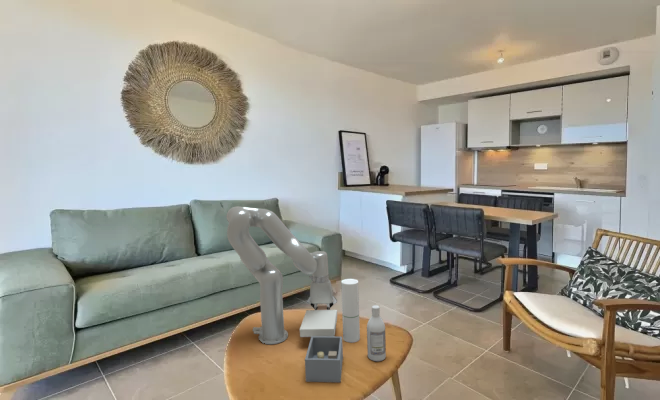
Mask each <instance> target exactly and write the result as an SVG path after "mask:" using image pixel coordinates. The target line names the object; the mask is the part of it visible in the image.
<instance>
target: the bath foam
mask: <svg viewBox="0 0 660 400" xmlns="http://www.w3.org/2000/svg"><path fill="white" fill-rule="evenodd" d="M380 308H381V307H380V305H377V304H376V305H375V304H374V305H372V306H371V316H370V318H369V319H368V321H367V324H366V338H367V339H366V346H367V347H366V349H367V350H366V351H367V358H368V359H370V360H371V361H373V362H382V361H383V360H385V359H386V358H387V357H386V356H387V355H386V353H387V351H386V350H387V346H386V345H387V344H386V325H385V321H384V320H383V319H382V317H381V314H380V311H381V310H380Z"/></svg>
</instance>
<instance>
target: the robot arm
mask: <svg viewBox="0 0 660 400" xmlns="http://www.w3.org/2000/svg"><path fill="white" fill-rule="evenodd" d="M226 220H227V222H228V225H227V230H226V237H227V239H228V243H229V244H230V246H231V247H232V249H233V250H234V251H235V252H236V254H237V255H238V256H239V259H240V261H241V262H242V263H243V265H244V266H245V267H246V268H247V270H248V271H249V272H250V273H251V274H252V276H253V277H254V278H255V279H256V280H257V282H258V284H259V285H260V291H259V292H260V293H259V302H260V303H259V304H260V319H261V326H258V327H257V326H256V327H255V326H254V327H252V332H253V335H258V341H259V340H260V341H261V342H262V343H261V342H260V341H259V342H260V343H261V344H264V343H265V344H264V345H277V344H280V343H282V342H285V340H287V339H288V336H289V332H288V331H287V330H286V329H285V319H284V299H283V286H284V277H283V274H282V272H281V271H280V269H279V268H277V266H275V265H274V264H273V263H272V262H271V261H270V259H269V258H268V257H267V255H266V253H265V251H264V250H263V249H262V248H261V247H260V245H258V243H257V242H256V241H255V240H254V238H253V237H252V236H251V233H250V232H249V231H250V229H249V228H251V227H252V228H260V229H261V231H263V232H264V234H265V235H266V236H267V237H268V238H269V239H270V241H272V243H273V244H274V245H275V246H276V247H277V248H278V249H279V250H280V251H281V252H282V253H284V254H285V255H287V256H288V257H289V258H290V259H291V260H292V262H293V263H292V264H293V265H294V267H295V268H296V269H297V270H299V271H301V273H303V274H304V275H307V276H308V275H310V276H308V279H309V280H311V281H310V289H309V297H308V299H307V300H306V303H307V304H308V305H310V306H311V307H312V308H313V310H317V308H318V305H327V310H331V308H332V307H333V306H334V305H336V303H338V299H337V298H336V297H335V296H334V293H333V287H332V282H331V280H330V278H329V262H328V258H329V257H328V253H327V252H326V251H323V250H317V251H316V250H315V251H313V252H309V250H308V249H307V248H306V247H305V246H304V245H303V244H302V243H301V242H300V241H299V240H298V238H297V237H296V236H295V235H294V234H293V233H292V232H291V231H290V230H289V228H288V227H287V226H286V225H285V223H284V222H283V221H282V220H281V218H279V216H278V215H277V214H276V213H275V212H274V211H272V210H269V209H267V208H259V207H256V208H255V207H249V206H248V207H247V206H240V205H239V206H238V205H237V206H233V207H230V208H229V209H228V211H227V213H226Z"/></svg>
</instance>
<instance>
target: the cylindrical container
mask: <svg viewBox="0 0 660 400" xmlns="http://www.w3.org/2000/svg"><path fill="white" fill-rule="evenodd" d="M340 284H341V308H342V309H341V310H342V311H341V313H342V315H341V316H342V341H344V342H347V343H350V344H351V343H356V342H359V341H360V339H361V332H360V331H361V330H360V299H359V298H360V297H359V289H360V288H359V280H358V279H356V278H345V279H342V280H341V282H340Z"/></svg>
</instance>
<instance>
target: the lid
mask: <svg viewBox="0 0 660 400" xmlns="http://www.w3.org/2000/svg"><path fill="white" fill-rule="evenodd" d="M317 306H318V308H317V310H315V309H307V310H305V313H304V315H303V319H302V322H301V325H300V327H299V337H300V338H311V336H334V337H336V336H335V335H336V327H337V322H338V321H337V320H338V309H330V310H327V304H317Z"/></svg>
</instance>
